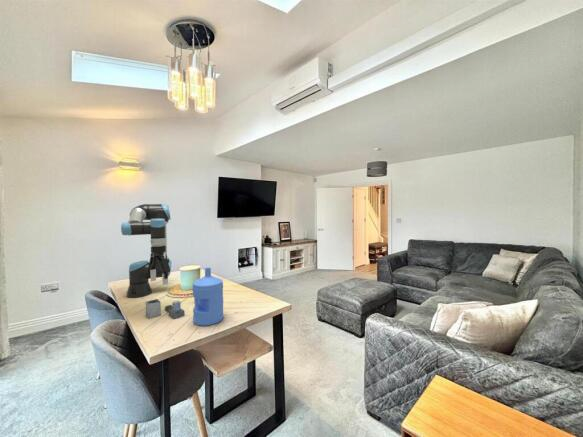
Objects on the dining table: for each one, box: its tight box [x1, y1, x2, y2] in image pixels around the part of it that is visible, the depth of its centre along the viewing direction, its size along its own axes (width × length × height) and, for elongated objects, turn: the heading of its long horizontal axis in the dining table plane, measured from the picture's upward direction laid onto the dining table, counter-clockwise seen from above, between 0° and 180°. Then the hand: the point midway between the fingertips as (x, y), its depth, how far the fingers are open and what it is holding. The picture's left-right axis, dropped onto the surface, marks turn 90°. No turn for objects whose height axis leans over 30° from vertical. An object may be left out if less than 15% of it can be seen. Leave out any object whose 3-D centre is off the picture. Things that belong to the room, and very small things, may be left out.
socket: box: [144, 298, 162, 320], centre depth 137 cm, size 6×6×8 cm
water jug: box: [192, 267, 225, 327], centre depth 131 cm, size 16×16×28 cm
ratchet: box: [164, 300, 186, 320], centre depth 140 cm, size 17×6×8 cm, turn 46°
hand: (159, 282), depth 139 cm, fingers open, 13 cm apart
